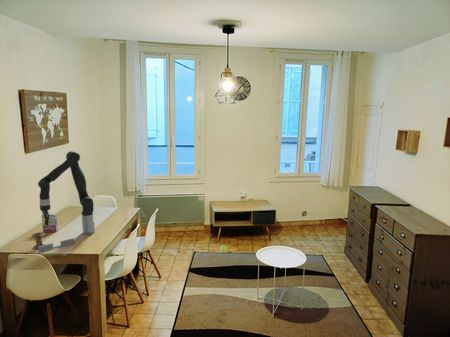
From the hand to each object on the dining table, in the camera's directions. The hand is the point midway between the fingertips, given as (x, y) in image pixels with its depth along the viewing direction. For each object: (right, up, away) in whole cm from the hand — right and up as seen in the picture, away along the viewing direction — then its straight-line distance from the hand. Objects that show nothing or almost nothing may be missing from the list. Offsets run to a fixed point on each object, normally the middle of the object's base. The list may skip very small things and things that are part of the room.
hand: (46, 224), depth 267 cm
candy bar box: (-10, -11, +26) cm, 31 cm away
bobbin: (-1, -18, -7) cm, 19 cm away
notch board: (+12, -18, -6) cm, 22 cm away
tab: (0, -1, 0) cm, 1 cm away
